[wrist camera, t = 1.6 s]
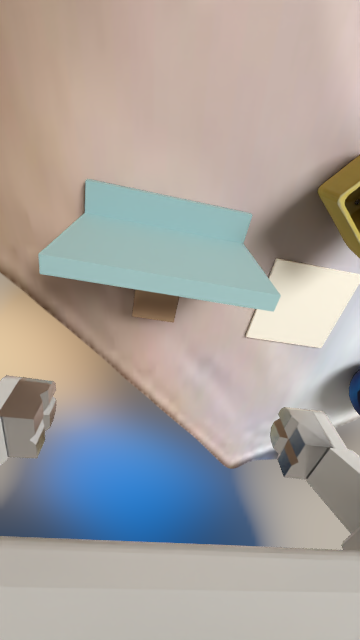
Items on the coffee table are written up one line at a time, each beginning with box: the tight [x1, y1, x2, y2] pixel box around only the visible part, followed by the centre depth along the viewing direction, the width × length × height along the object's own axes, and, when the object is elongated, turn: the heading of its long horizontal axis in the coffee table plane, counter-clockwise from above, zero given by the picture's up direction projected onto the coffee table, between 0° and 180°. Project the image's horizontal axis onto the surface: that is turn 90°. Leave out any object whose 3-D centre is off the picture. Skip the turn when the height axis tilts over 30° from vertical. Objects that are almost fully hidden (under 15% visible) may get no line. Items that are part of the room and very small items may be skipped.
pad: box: [245, 258, 360, 348], centre depth 39 cm, size 12×12×1 cm
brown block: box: [132, 289, 179, 322], centre depth 34 cm, size 5×5×5 cm
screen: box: [39, 179, 281, 312], centre depth 26 cm, size 5×18×14 cm, turn 79°
